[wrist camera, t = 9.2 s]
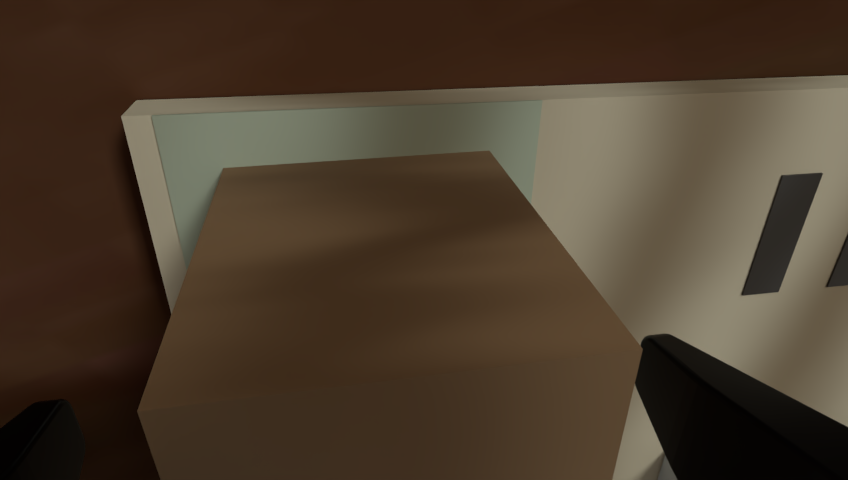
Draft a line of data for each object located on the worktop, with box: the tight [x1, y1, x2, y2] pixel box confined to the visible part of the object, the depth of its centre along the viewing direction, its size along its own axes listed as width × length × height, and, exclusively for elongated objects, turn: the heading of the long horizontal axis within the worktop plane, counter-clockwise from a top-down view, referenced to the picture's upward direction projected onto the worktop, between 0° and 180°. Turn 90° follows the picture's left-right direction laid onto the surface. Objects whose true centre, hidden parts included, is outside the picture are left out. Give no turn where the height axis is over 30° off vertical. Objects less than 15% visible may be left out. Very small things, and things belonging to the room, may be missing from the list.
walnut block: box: [137, 151, 643, 480], centre depth 9 cm, size 5×5×6 cm
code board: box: [121, 75, 848, 480], centre depth 16 cm, size 20×16×1 cm
